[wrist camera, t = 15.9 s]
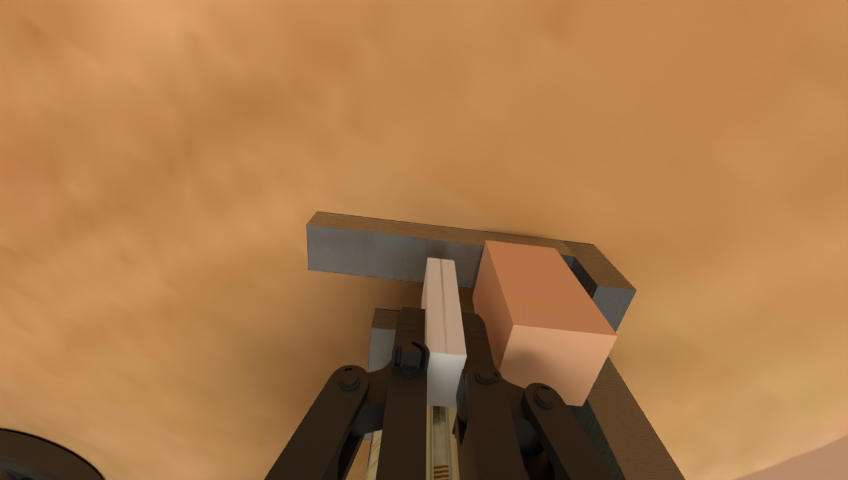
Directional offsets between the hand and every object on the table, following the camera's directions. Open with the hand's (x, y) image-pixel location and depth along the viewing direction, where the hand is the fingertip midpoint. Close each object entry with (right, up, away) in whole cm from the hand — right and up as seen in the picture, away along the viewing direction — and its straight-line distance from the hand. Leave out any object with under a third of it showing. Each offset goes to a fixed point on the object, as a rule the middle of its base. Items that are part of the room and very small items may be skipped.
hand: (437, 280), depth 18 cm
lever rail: (0, +2, +4) cm, 4 cm away
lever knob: (+4, 0, +2) cm, 5 cm away
